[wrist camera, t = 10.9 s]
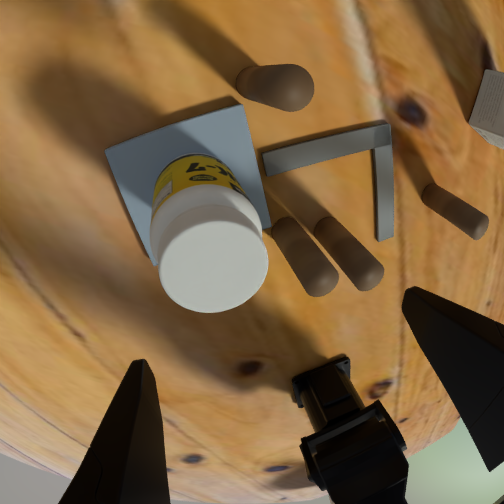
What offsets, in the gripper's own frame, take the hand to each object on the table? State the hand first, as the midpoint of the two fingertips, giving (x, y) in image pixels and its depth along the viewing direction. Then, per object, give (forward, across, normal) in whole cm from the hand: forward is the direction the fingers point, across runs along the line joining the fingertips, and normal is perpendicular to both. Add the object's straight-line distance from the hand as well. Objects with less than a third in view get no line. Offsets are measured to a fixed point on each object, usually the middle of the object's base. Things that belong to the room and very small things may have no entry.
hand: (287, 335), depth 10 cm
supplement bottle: (+11, +2, -1) cm, 11 cm away
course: (+12, -10, -1) cm, 15 cm away
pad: (+12, +2, -1) cm, 12 cm away
